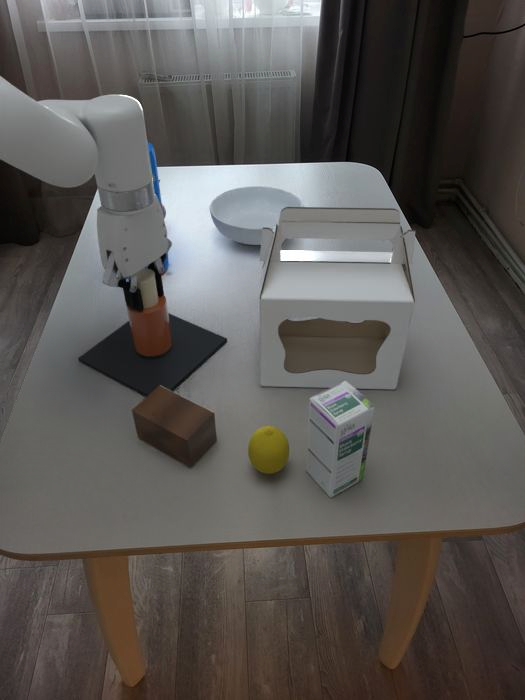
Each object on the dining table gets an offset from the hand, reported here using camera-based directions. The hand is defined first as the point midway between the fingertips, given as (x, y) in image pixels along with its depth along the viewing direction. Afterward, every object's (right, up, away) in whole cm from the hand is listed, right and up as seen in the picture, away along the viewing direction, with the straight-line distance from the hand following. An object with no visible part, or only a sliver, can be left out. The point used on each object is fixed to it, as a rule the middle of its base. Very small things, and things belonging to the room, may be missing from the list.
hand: (145, 299), depth 89 cm
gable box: (+29, -10, +5) cm, 32 cm away
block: (+6, -21, -8) cm, 23 cm away
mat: (0, -8, +7) cm, 11 cm away
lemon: (+20, -25, -11) cm, 34 cm away
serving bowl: (+18, +18, +38) cm, 46 cm away
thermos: (-6, +9, +28) cm, 30 cm away
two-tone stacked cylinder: (+2, -5, +8) cm, 10 cm away
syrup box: (+28, -25, -12) cm, 40 cm away
